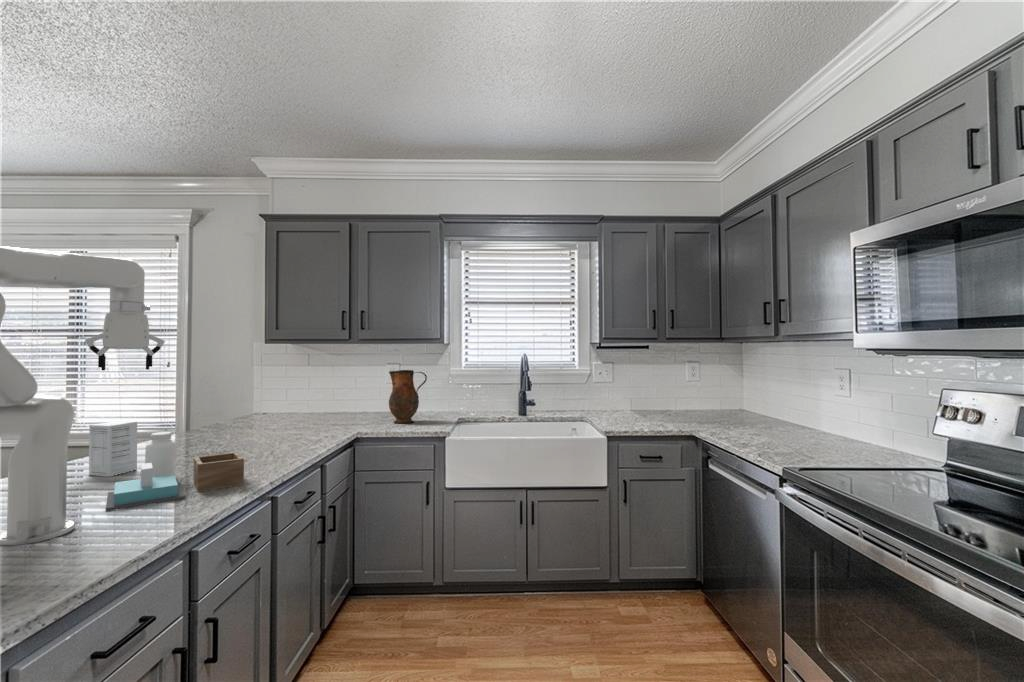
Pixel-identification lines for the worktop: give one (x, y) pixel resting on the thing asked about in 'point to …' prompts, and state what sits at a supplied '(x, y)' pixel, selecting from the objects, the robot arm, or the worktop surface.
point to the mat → (111, 505)
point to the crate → (218, 471)
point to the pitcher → (404, 396)
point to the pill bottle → (161, 454)
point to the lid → (145, 487)
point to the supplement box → (112, 448)
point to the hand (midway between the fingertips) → (125, 369)
